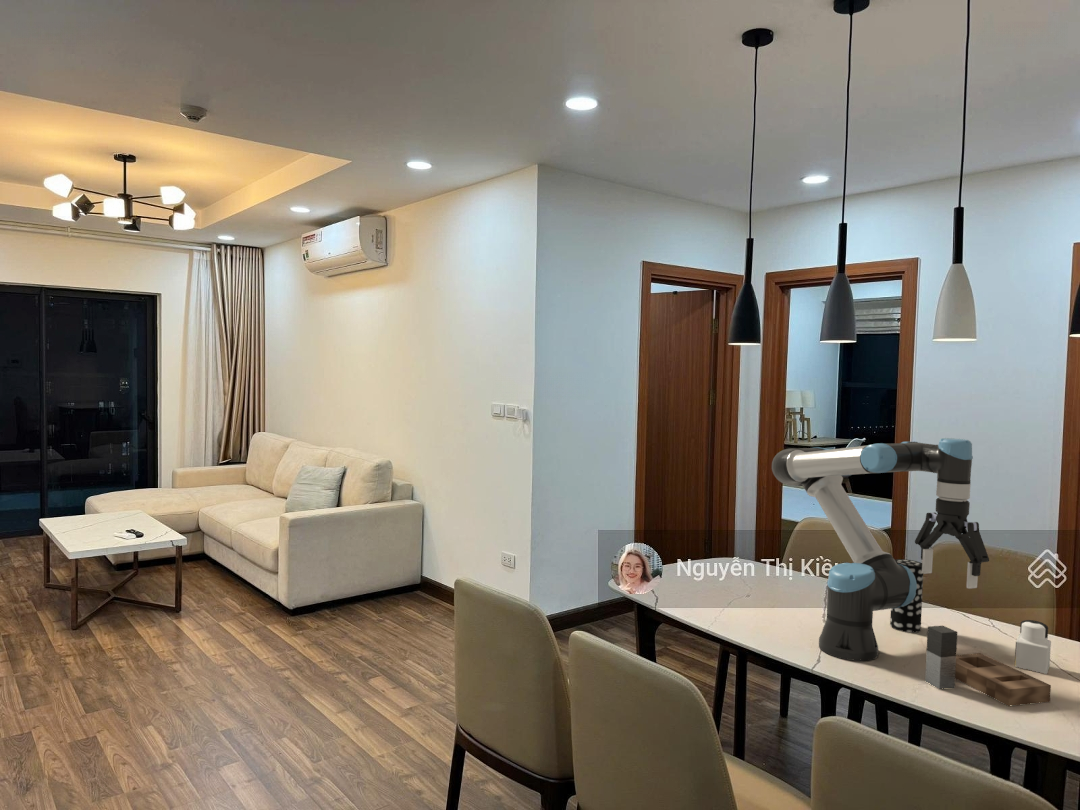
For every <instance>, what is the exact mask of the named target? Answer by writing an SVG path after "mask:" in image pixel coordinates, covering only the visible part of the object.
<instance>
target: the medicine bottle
mask: <svg viewBox="0 0 1080 810" xmlns="http://www.w3.org/2000/svg"><path fill="white" fill-rule="evenodd" d="M1019 627H1020V628H1019V629H1020V630H1019V634H1018V636H1017V638H1016V641H1015V651H1014V654H1015V655H1014V667H1015V668H1018V667H1019V668H1018V669H1022V668H1023V670H1026V669H1028V670H1027V671H1031V670H1032V671H1031V672H1035V671H1036V672H1037V673H1039V672H1040V674H1043V673H1044V675H1047V674H1048V672H1049V670H1050V665H1051V664H1050V663H1051V648H1052V647H1051V646H1052V641H1051V640H1050V639H1048V636H1049V634H1048V633H1049V627H1048V625H1047V624H1045V623H1044V622H1041V621H1039V620H1034V619H1033V620H1031V619H1023V620H1021V621H1020V626H1019Z"/></svg>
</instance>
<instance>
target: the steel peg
mask: <svg viewBox="0 0 1080 810" xmlns="http://www.w3.org/2000/svg"><path fill="white" fill-rule="evenodd" d="M926 634H927V636H926V652H925V653H926V655H925V656H926V659H925V674H924V675H925V678H924V682H925V681H926V682H928V683H930V684H931V685H930V684H929V685H930V686H932V685H933V686H935V687H937V688H939V689H942V688H943V689H942V690H945V689H944V688H952V689H955V685H956V679H955V669H956V655H957V648H958V647H957V646H958V644H957V643H958V631H957V630H954V629H951V628H950V627H947V626H945V625H933V626H931V625H930V626H927V633H926ZM926 682H925V683H926ZM928 683H927V684H928ZM933 686H932V687H933ZM935 687H934V688H935ZM937 688H936V689H937ZM939 689H938V690H939Z"/></svg>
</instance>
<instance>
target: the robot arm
mask: <svg viewBox="0 0 1080 810" xmlns="http://www.w3.org/2000/svg"><path fill="white" fill-rule="evenodd" d="M973 459H974V458H973V443H972V442H971V441H970V440H969V439H964V438H952V437H951V438H949V437H945V438H940V439H939V441H938V444H931V443H926V442H925V443H923V442H918V441H902V442H899V443H883V442H880V443H873V444H868V445H860V446H851V447H841V448H833V449H829V448H825V447H819V446H815V447H810V448H809V447H808V448H807V447H803V448H800V447H798V448H794V447H793V448H786V449H785V448H784V449H783V450H781V451H779V452H777V453H776V455H775V456H774V457H773V459H772V462H771V471H772V475H773V476H774V477H775V478H776V480H777V481H778V482H780V483H781V484H784V485H787V486H803V488H804V490H805V492H806V493H807V495H808V496H809V497H813V498H815V499H816V500H817V503H818V504H819V506H820V508H821V510H822V511H823V512H824V515H825V516H826V518H827V519H828V521H829V522H830V524H831V526H832V528H833V530H834V531H835V533H836V534H837V537H838V538H839V540H840V542H841V543H842V545H843V547H844V548H845V550H846V552H847V553H848V555H849V556H850V558H851V560H852V563H850V562H842V563H838V564H835V565H833V566H832V567H831V568H830V569H829V571H828V579H827V582H826V583H827V596H826V600H827V601H826V620H825V622H824V625H823V627H822V631H821V633H820V635H819V638H818V648H819V649H820V651H823V652H824V653H826V654H828V655H830V656H833V657H836V658H839V659H843V660H849V661H859V662H861V661H863V662H864V661H867V662H868V661H872V660H875V659H877V658H878V656H879V645H878V642H877V639H876V635H875V632H874V628H873V616H874V612H877V611H884V610H891V608H893V609H896V608H899V607H902V606H906V605H908V604H909V603H911V602H912V601H913V599H914V597H915V595H916V589H917V583H916V579H915V576H914V574H913V573H912V571H911V570H910V569H909V568H908V567H906V566H903V565H901V564H897V563H896V561H895V560H896V559H895V558H894V556H893V555H892V554H891V553H889V552H886V551H884V550H883V549H882V548H881V546H880V545H879V543H878V542H877V540H876V538H875V537H874V535H873V534H872V532H871V531H870V528H869V527H868V526H867V524H866V522H865V521H864V519H863V517H862V515H861V514H860V512H859V511H858V509H857V508H856V506H855V505H854V503H853V501H852V500H851V498H850V497H849V495H848V493H847V492H846V490H845V488H844V486H843V485H842V483H843V480H844V477H843V476H849V475H850V476H851V475H865V474H881V473H882V474H883V473H884V474H885V473H896V472H898V473H899V472H900V473H901V472H902V473H903V472H925V473H926V472H927V473H932V474H937V476H936V490H935V491H936V492H935V493H936V496H937V497H938V498H936V499H935V512H927V513H926V514H925V521H924V523H923V525H922V526H921V528H920V530H919V532H918V534H917V536H916V537H915V539H914V544H915V545H918V546H919V547H920V550H921V551H920V559H921V563H922V573H923V575H924V574H925V575H926V574H932V573H933V563H934V561H933V559H934V549H933V545H934V544H935V543H936V542H937V541H938V540H939V539H940V538H941V537H942V536H943V535H949V536H951V537H954V538H956V539H957V540H958V542H959V543H960V545H961V547H962V549H963V550H964V551H965V553H966V555H967V557H968V558H969V560H970V561H967V567H966V568H967V570H966V589H969V590H971V589H977V588H978V582H979V581H978V579H979V576H980V575H981V571H982V570H981V566H982V563H988V562H990V558H989V555H988V552H987V549H986V546H985V543H984V541H983V538H982V536H981V535H982V534H981V532H980V524H979V522H978V521H968V516H969V515H970V502H969V499H970V498H971V474H972V464H973V463H972V462H973ZM936 523H937V525H936Z"/></svg>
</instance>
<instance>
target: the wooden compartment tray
mask: <svg viewBox="0 0 1080 810" xmlns="http://www.w3.org/2000/svg"><path fill="white" fill-rule="evenodd" d="M955 680H957V681H959V682H960V683H963V684H964V685H967V686H969V687H970V686H971V687H970V688H972V687H973V688H972V689H974V688H975V690H976V689H977V690H976V691H978V690H979V692H980V691H981V692H980V693H982V692H983V693H982V694H984V693H985V694H984V695H986V694H987V695H986V696H988V695H989V696H988V697H990V696H991V698H992V697H993V698H992V699H994V698H995V699H994V700H996V699H997V700H998V702H999V701H1000V703H1001V702H1002V703H1001V704H1003V703H1004V704H1003V705H1005V704H1006V706H1007V705H1008V706H1007V707H1011V706H1010V705H1016V706H1021V705H1020V704H1025V705H1031V704H1030V703H1035V704H1042V703H1041V702H1044V703H1050V702H1051V691H1052V689H1051V688H1052V685H1051V684H1049V683H1047V682H1045V681H1044V680H1043V681H1042V680H1040V679H1038V678H1036V677H1034V676H1032V675H1029V674H1027V673H1025V672H1023V671H1021V670H1018V669H1016V668H1014V667H1012V666H1009V665H1007V664H1006V663H1003V662H1001V661H999V660H996V659H994V658H992V657H990V656H987V655H985V654H983V653H981V652H978V653H976V652H975V653H974V652H973V653H964V654H963V653H962V654H956V669H955ZM997 700H996V701H997ZM1049 701H1050V702H1049ZM1039 702H1040V703H1039Z"/></svg>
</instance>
